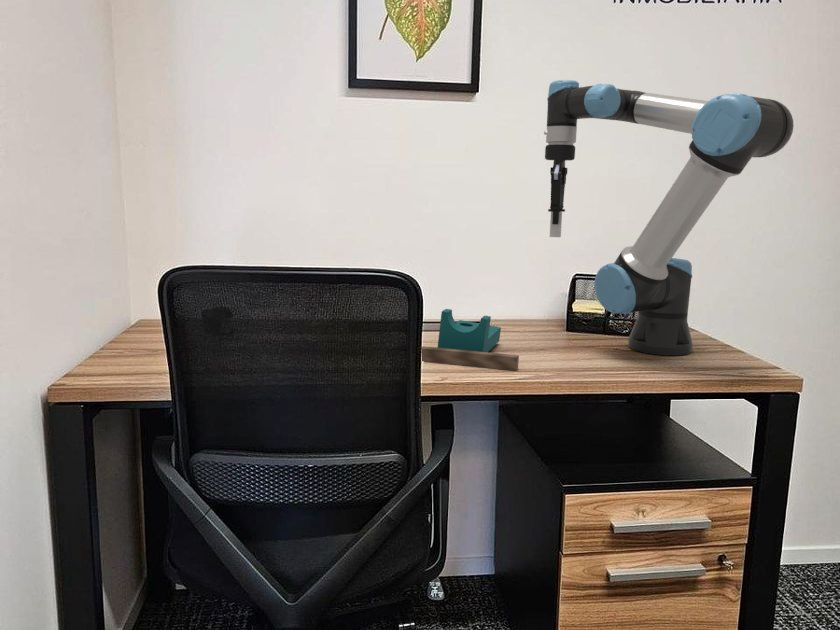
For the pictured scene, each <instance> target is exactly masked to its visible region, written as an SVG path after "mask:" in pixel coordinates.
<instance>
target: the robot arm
mask: <svg viewBox="0 0 840 630" xmlns="http://www.w3.org/2000/svg"><path fill="white" fill-rule="evenodd" d="M548 87H549V88H548V93H547V94H548V95H547V111H546V114H547V116H546V130H544V132H543V135H546V138H545V143H547V145H545V147H544V148H545V149H544V159H545V160H547V161H553V163H552V164H553V165H552V167H550V206H549V209H547V210H548V211H547V212H549V213H550V221H549V222H550V224H549V225H550V226H549V238H561V237H562V236H561V235H562V222H563V212H564V213H565V212H566V209H565V208H564V201H565V199H564V198H565V187H566V183H567V175H568V167H566V161H574V160H575V157H576V146H575V145H574V144H575V143H577V129H578V127H577V123H578V120H581V119H583V120H585V119H598V120H599V119H600V120H610V121H618V122H624V123H625V122H626V123H632V124H636V125H642V126H643V125H644V126H649V127H652V128H653V127H654V128H659V129H663V130H670V131H674V132H681V133H684V134H685V133H686V134H690V135H691V139H692V141H691V142H690V143H689V145H688V149H689V151H688V152H689V155H690V157H689V159H688V160H687V162H686V164H685V165H684V167H682V170H681V171H680V173H679V174H678V176H677V178H676V179H675V180H674V183H673V184H672V185H671V187H670V188H669V190H668V192H667V193H666V194H665V196H664V198H663V199H662V200H661V201H660V204H659V205H658V207H657V209H656V210H655V211H654V213H653V214H652V216H651V218H650V219H649V221H648V222H647V224H646V226H645V227H644V229H643V230H642V231H641V233H640V235H639V237H638V238H637V239H636V241H635V243H634V244H633V245H632V246H627V247H626V246H625V247H624V248H622V250H621V251H620V254H619V255H618V256H617V258H616V259H615V261H614V262H612V263H611V262H610V263H607V264H605V265H603V266H601V267H600V268H599V270H598V271H597V272H596V274H595V278H594V290H595V295H596V298H597V300H598V303H599V304H600V305H601V306H602V308H604V309H605V310H607V312H610V313H613V314H625V315H626V314H629V313H637V318H636V319H635V323H634V325H633V327H632V329H631V332H630V334H629V336H628V342H627V343H628V344H627V345H628V348H630V349H632V350H634V351H635V352H641V353H645V354H651V355H657V356H684V355H685V356H686V355H689V354H691V353H692V351H693V340H692V335H691V332H690V328H689V327H690V326H689V323H688V316H689V315H688V313H689V305H690V297H691V296H690V295H691V284H692V279H693V265H692V263H691V262H690V260H688V259H684V258H683V259H682V258H677V257H676V258H675V257H674V256H675V255H676V252H678V250H679V248H680V247H681V246H682V244H683V243H684V241H685V240H686V239H687V237H688V236H689V234H690V233H691V231H692V230H693V229H694V227H695V225H696V224H697V223H698V222H699V220H700V219H701V217H702V216H703V215H704V214H705V211H707V208H708V207H709V206H710V204H711V203H712V201H713V200H714V198H715V197H716V195H717V194H718V193H719V191H720V190H721V189H722V187H723V185H725V183H726V181H727V180H728V179H729V178H732V177H736V176H739V175H740V174H741V173H742V172H743V170H744V169H745V168H746V166H747V165H748V163H749V162H750V161H751V159H752V158H764V157H765V158H767V157H769V156H772V155H775V154H776V153H778V152H780V151H781V150H782V149H783V148H784V147H785V146H786V145H787V144H788V142H789V141H790V139H791V137H792V134H793V131H794V118H793V115H792V113H791V111H790V110H789V109H788V107H787V106H786V105H784V103H782V102H779V101H778V100H774V99H770V98H762V97H756V96H751V95H748V94H745V93H726V94H720V95H718V96H715V97H713V98H711V99H710V100H703V99H693V98H689V97H681V96H680V97H679V96H673V95H665V94H659V93H651V92H645V91H644V92H643V91H641V90H640V91H639V90H630V89H623V88H622V89H620V88H616V87H615V85H614V84H611V83H604V84H603V83H598V84H594V85H588V86H580V83H579V81H577V80H572V79H562V80H560V79H559V80H558V79H557V80H554V81H552V82H551V83H549V86H548Z"/></svg>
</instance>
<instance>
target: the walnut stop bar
mask: <svg viewBox="0 0 840 630" xmlns="http://www.w3.org/2000/svg"><path fill="white" fill-rule="evenodd" d="M421 347H422V361H421V362H424V363H425V362H427V363H435V364H444V365H445V364H446V365H455V366H465V367H475V368H483V369H485V368H486V369H492V370H493V369H495V370H504V371H514V372H518V370H519V360H520V356H519V355H517V354H507V353H497V352H478V351H467V350H457V349H446V348H437V347H433V346H424V345H423V346H421Z"/></svg>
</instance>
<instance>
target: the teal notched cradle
mask: <svg viewBox="0 0 840 630" xmlns="http://www.w3.org/2000/svg"><path fill="white" fill-rule="evenodd" d="M440 314H441V315H440V325H439V333H438V339H437V347H436V348H446V349H457V350H467V351H478V352H488V353H490V352H489V351H491V350H492V349H493V348H494V347H495V346H497V344H498V343H499V342H500V339H501V330H502V327H501V326H495V325H491V318H492V317H491V316H489V315H483V316H482V317H481V318H480V322H479V323H478V322H473V321H467V320H462V319H459V320H458V321H455V319H454V317H453V309H450V308H449V309H448V308H445V309H443V310H442V311H441V313H440Z"/></svg>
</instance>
